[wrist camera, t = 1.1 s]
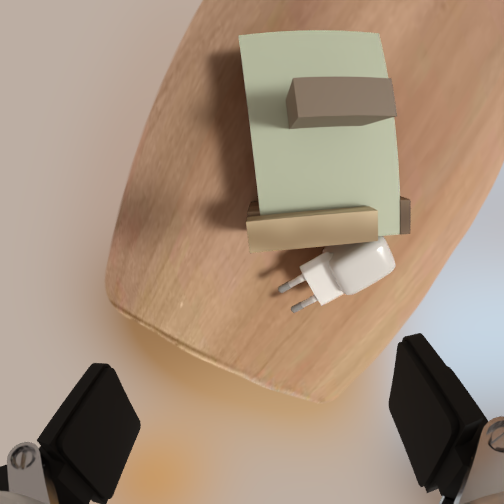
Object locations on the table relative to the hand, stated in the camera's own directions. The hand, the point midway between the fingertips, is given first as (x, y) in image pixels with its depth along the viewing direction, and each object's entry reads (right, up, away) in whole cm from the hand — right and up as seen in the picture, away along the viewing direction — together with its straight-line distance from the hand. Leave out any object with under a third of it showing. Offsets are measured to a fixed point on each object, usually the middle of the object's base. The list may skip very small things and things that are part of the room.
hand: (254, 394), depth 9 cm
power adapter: (+8, +4, +23) cm, 25 cm away
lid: (+6, +14, +14) cm, 21 cm away
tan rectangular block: (+5, +7, +15) cm, 17 cm away
